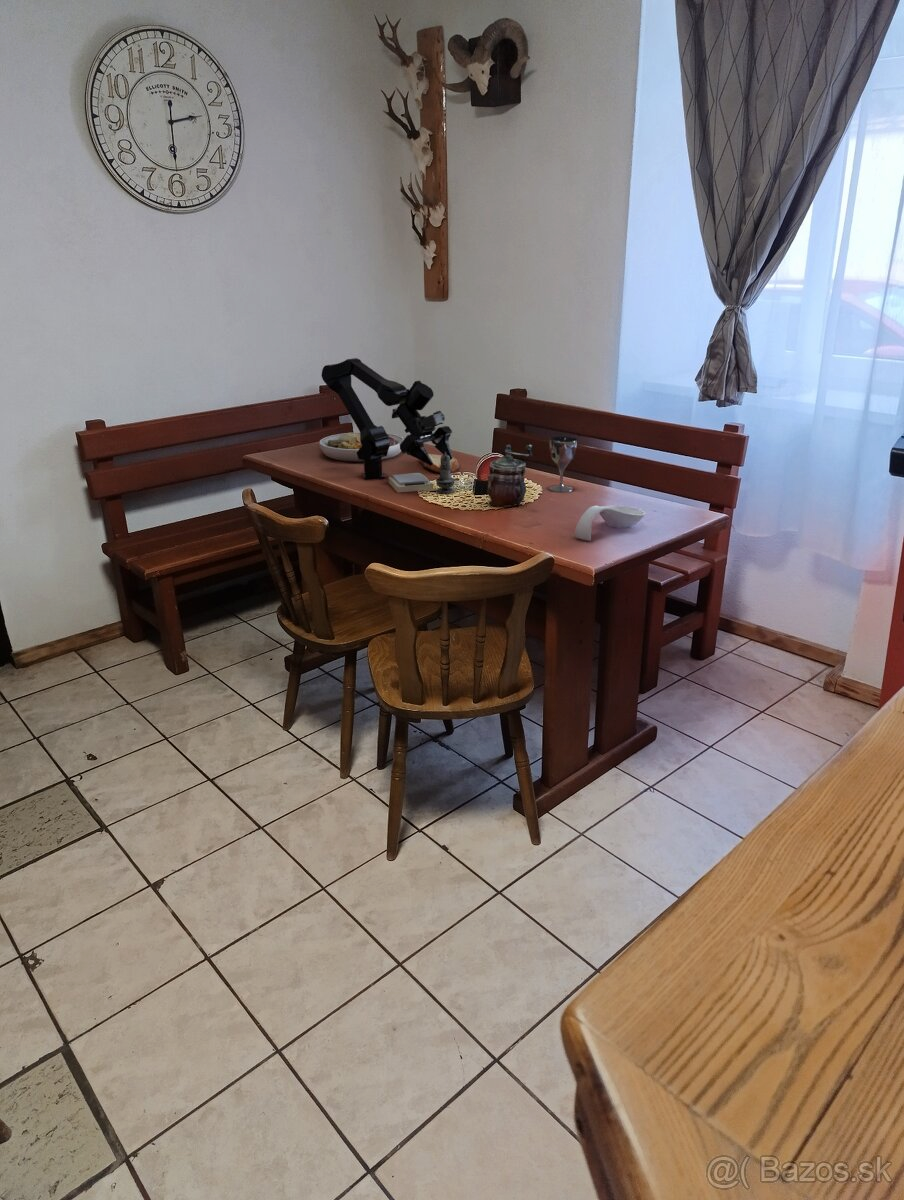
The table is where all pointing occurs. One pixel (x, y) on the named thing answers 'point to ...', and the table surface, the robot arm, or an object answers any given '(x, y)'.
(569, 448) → the wine glass
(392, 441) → the bowl
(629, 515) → the spoon rest
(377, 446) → the robot arm
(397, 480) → the scale
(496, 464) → the coffee grinder
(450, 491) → the grey carved figurine
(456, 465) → the bread slice
